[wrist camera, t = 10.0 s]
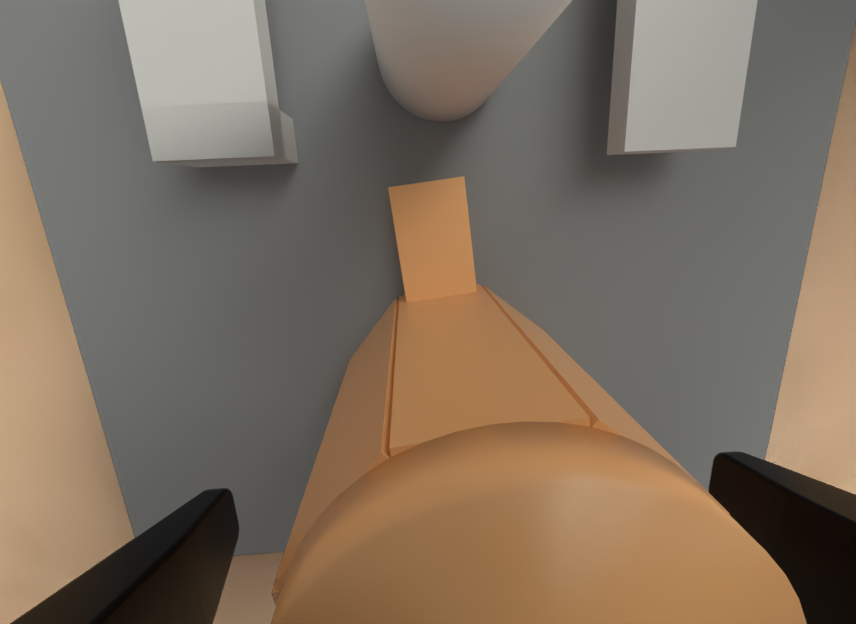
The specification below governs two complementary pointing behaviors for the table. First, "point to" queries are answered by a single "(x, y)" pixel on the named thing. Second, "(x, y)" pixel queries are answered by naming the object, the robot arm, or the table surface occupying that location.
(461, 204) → the tan rounded piece
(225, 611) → the table surface
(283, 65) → the stand
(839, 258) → the table surface
